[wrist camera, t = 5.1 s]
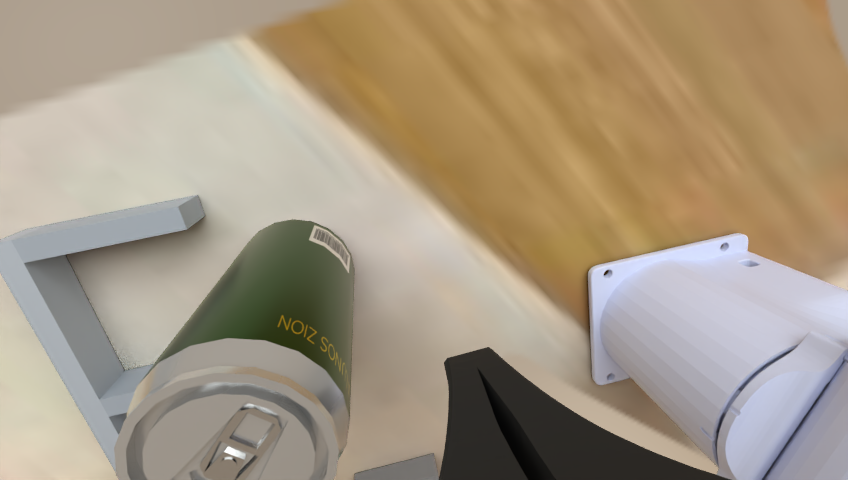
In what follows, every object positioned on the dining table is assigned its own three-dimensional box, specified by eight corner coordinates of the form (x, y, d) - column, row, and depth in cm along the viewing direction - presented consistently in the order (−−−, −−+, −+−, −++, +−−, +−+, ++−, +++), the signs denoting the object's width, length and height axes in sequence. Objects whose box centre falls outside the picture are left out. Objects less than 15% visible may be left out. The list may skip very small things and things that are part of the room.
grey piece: (197, 194, 19) (177, 206, 17) (299, 468, 25) (293, 501, 23) (26, 229, 19) (-16, 245, 16) (171, 500, 24) (153, 538, 22)
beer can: (280, 193, 20) (173, 321, 8) (375, 252, 21) (392, 424, 10) (223, 282, 21) (59, 502, 9) (318, 331, 22) (276, 570, 11)
